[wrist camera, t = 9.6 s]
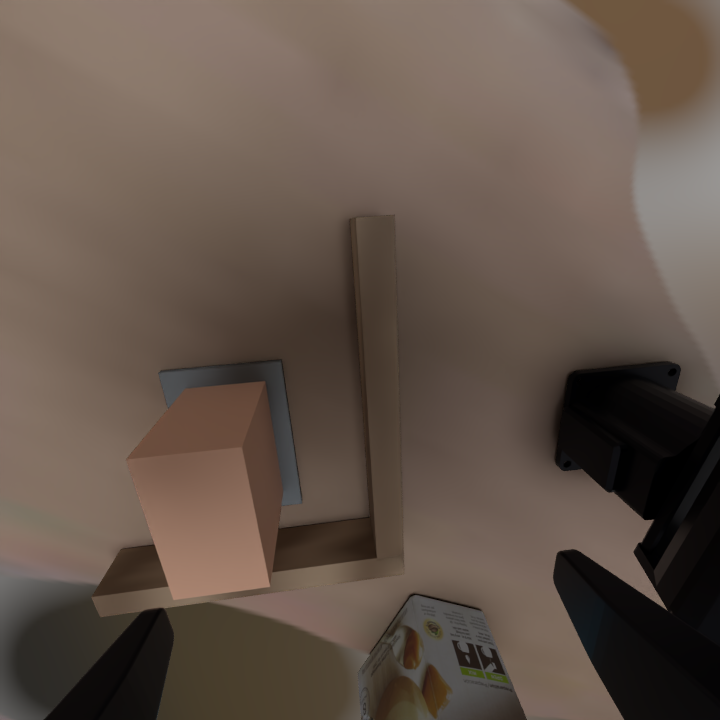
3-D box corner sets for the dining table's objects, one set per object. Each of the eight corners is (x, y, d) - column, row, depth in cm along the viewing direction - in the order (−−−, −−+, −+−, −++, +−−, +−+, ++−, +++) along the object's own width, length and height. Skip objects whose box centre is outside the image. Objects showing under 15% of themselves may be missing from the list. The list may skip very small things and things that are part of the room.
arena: (382, 216, 17) (394, 215, 14) (394, 532, 23) (404, 574, 21) (1, 241, 16) (-68, 245, 13) (128, 567, 22) (100, 617, 19)
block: (283, 491, 21) (270, 586, 16) (212, 499, 21) (173, 600, 15) (265, 381, 19) (242, 447, 13) (185, 388, 18) (125, 459, 13)
